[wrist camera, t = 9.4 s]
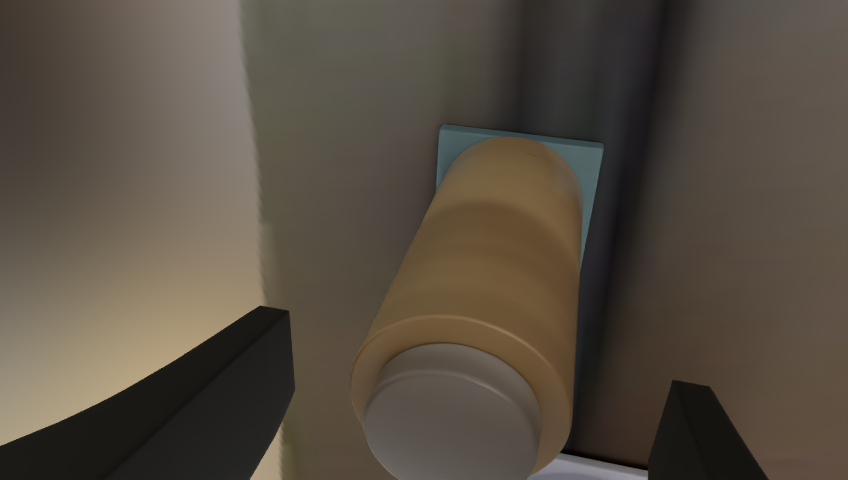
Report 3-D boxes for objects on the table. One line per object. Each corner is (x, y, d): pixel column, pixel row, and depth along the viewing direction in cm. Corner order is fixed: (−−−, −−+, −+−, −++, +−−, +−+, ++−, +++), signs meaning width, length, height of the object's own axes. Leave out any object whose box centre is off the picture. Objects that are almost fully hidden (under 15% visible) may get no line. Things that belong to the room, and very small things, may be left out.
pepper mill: (571, 273, 19) (551, 544, 12) (437, 252, 20) (336, 495, 12) (594, 145, 17) (589, 373, 10) (444, 127, 18) (329, 326, 10)
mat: (556, 392, 22) (554, 402, 22) (428, 368, 23) (425, 378, 23) (603, 142, 18) (603, 149, 17) (442, 122, 18) (438, 128, 18)
